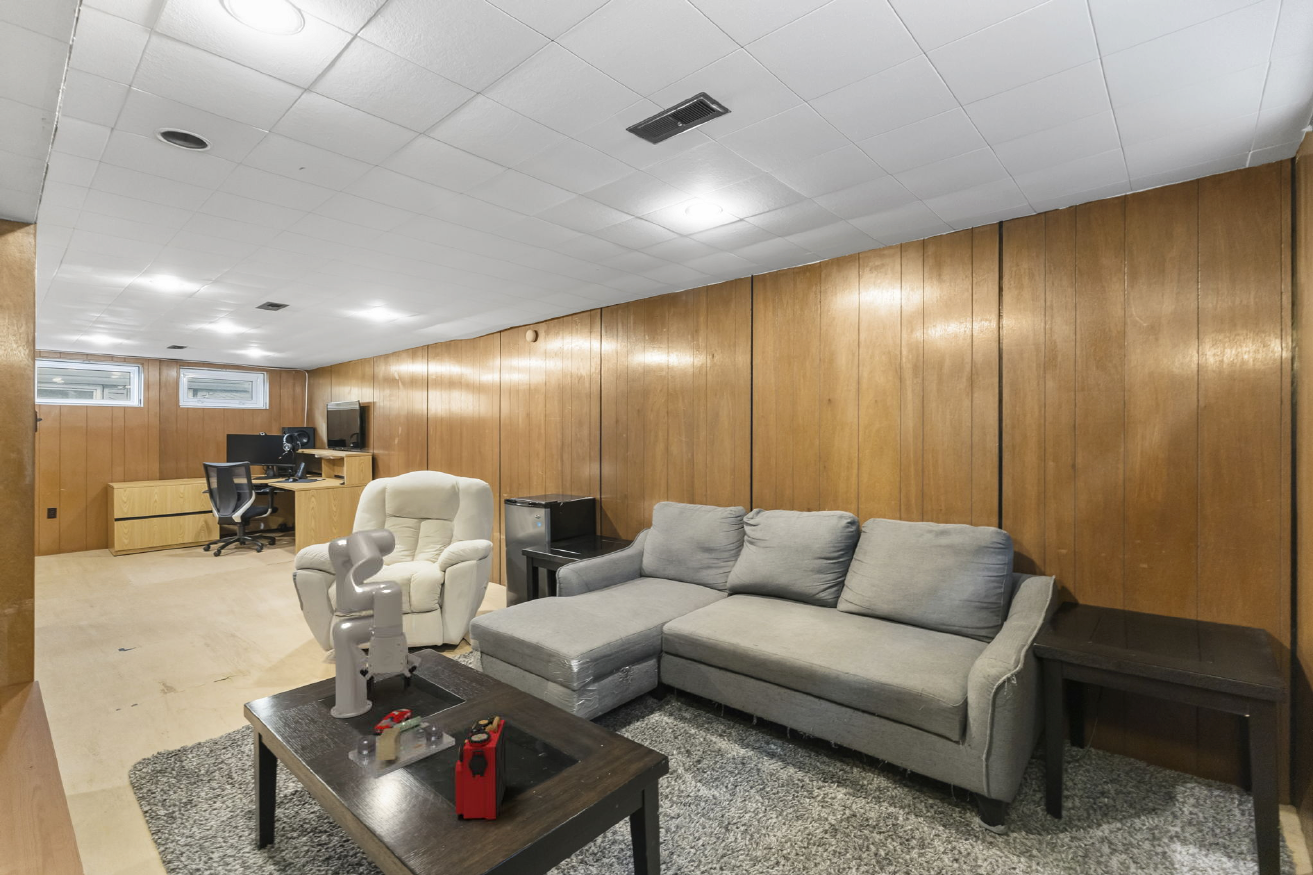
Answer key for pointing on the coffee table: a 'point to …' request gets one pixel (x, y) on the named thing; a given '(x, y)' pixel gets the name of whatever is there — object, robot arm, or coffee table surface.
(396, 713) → the race car
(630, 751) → the coffee table surface
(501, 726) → the radio
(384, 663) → the robot arm
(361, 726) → the coffee table surface
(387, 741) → the wooden rectangular block
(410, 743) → the levelling base
